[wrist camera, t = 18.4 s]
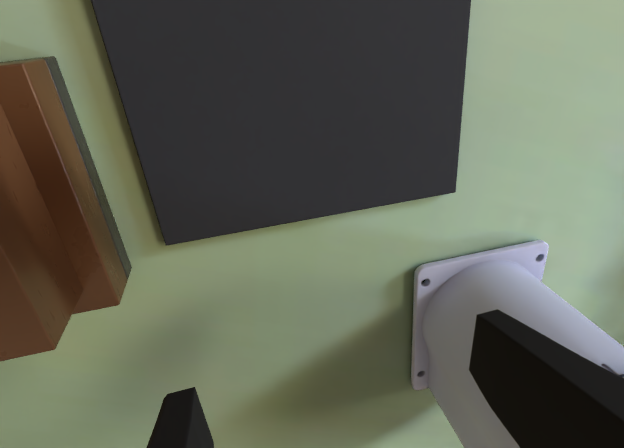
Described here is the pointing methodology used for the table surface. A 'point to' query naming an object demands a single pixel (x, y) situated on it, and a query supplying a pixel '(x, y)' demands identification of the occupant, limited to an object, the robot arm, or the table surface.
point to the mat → (287, 105)
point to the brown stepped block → (49, 214)
